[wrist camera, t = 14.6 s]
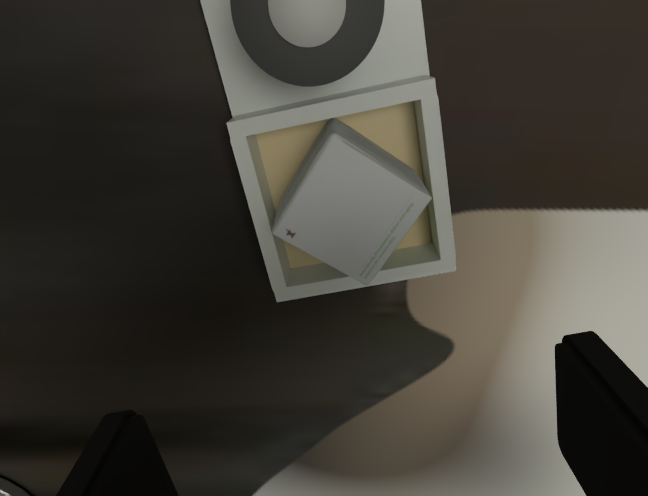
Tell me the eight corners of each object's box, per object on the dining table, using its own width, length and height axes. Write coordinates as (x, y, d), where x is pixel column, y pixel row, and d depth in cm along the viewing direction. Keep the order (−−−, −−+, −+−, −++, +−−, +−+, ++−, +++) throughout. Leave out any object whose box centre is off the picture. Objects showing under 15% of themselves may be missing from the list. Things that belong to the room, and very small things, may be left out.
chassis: (446, 244, 29) (460, 270, 26) (279, 274, 30) (273, 302, 27) (404, -107, 22) (416, -131, 19) (190, -53, 23) (167, -67, 20)
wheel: (384, 63, 24) (395, 69, 20) (266, 89, 24) (252, 101, 20) (363, -78, 22) (371, -107, 17) (233, -45, 22) (209, -66, 18)
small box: (362, 250, 28) (367, 290, 24) (277, 201, 27) (265, 233, 23) (419, 170, 26) (437, 196, 22) (330, 112, 25) (330, 129, 21)
